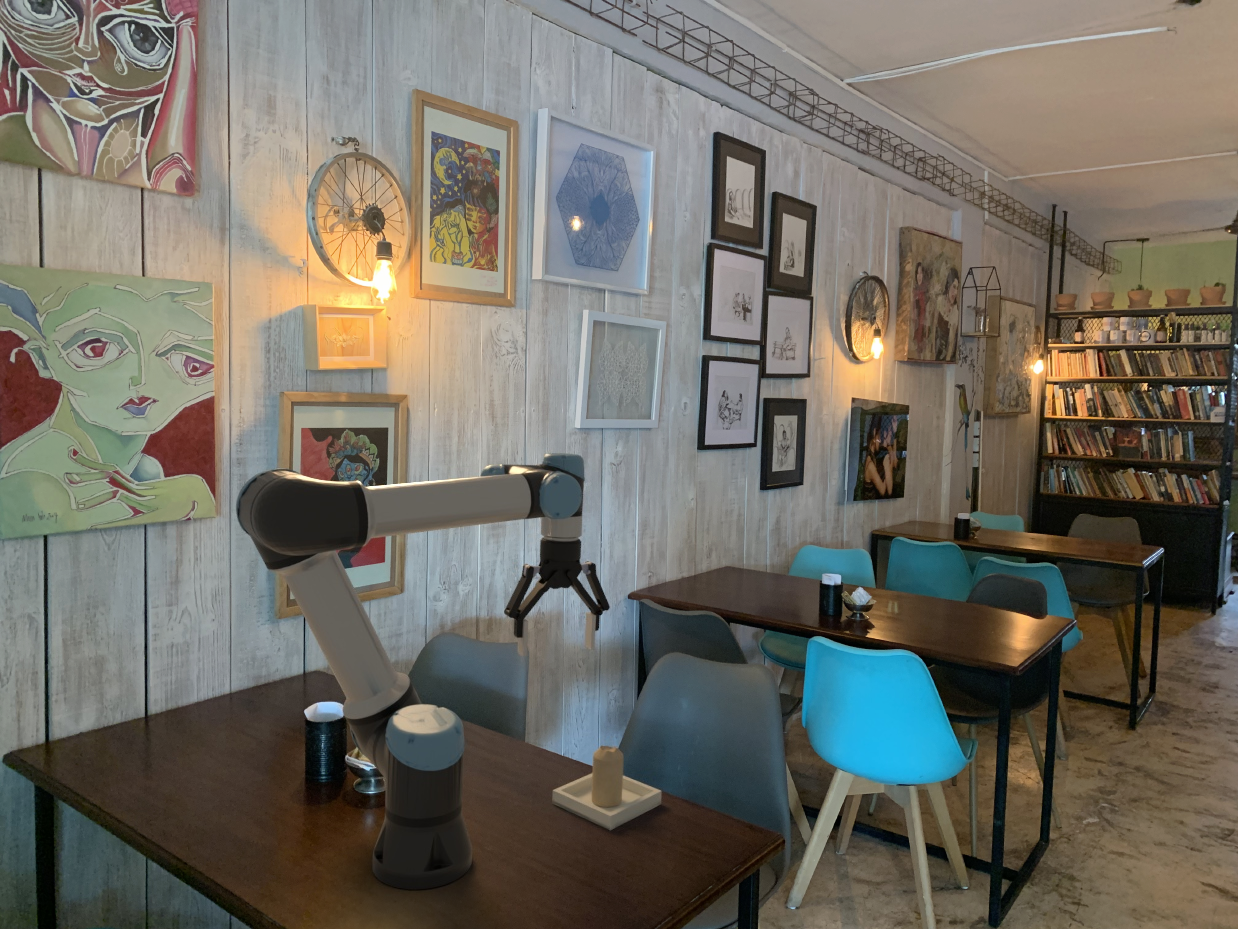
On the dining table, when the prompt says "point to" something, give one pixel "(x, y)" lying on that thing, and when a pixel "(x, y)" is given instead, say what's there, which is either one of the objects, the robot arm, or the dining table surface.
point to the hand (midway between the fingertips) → (556, 651)
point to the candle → (607, 776)
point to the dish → (632, 805)
